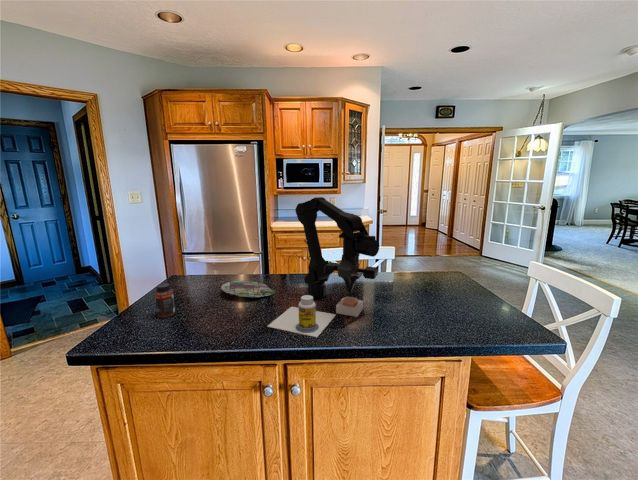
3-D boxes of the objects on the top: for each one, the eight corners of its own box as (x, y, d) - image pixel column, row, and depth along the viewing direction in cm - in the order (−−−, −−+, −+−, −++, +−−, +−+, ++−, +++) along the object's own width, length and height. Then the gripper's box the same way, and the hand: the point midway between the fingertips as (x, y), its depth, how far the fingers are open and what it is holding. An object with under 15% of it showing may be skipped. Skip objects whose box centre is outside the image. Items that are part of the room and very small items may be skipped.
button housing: (336, 313, 110) (336, 305, 109) (343, 304, 117) (343, 297, 116) (357, 316, 107) (357, 309, 106) (363, 308, 114) (363, 300, 113)
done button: (342, 306, 110) (342, 300, 110) (346, 302, 114) (346, 296, 114) (353, 308, 109) (353, 302, 108) (357, 304, 112) (357, 298, 112)
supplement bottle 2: (296, 329, 97) (295, 299, 95) (302, 321, 103) (301, 293, 101) (312, 331, 96) (312, 301, 94) (317, 323, 101) (317, 295, 99)
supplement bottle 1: (179, 312, 110) (176, 283, 108) (166, 319, 105) (162, 288, 103) (166, 310, 112) (163, 281, 110) (153, 317, 107) (149, 286, 105)
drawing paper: (267, 326, 100) (267, 325, 100) (291, 307, 115) (291, 306, 115) (317, 337, 93) (317, 336, 93) (335, 315, 108) (335, 314, 108)
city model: (286, 300, 127) (287, 286, 127) (232, 307, 114) (233, 291, 113) (262, 285, 147) (262, 272, 147) (213, 289, 134) (213, 275, 133)
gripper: (317, 253, 104) (318, 296, 107) (371, 259, 96) (369, 305, 100) (329, 247, 114) (329, 286, 117) (378, 251, 107) (377, 293, 110)
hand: (350, 292), depth 110 cm, fingers closed
